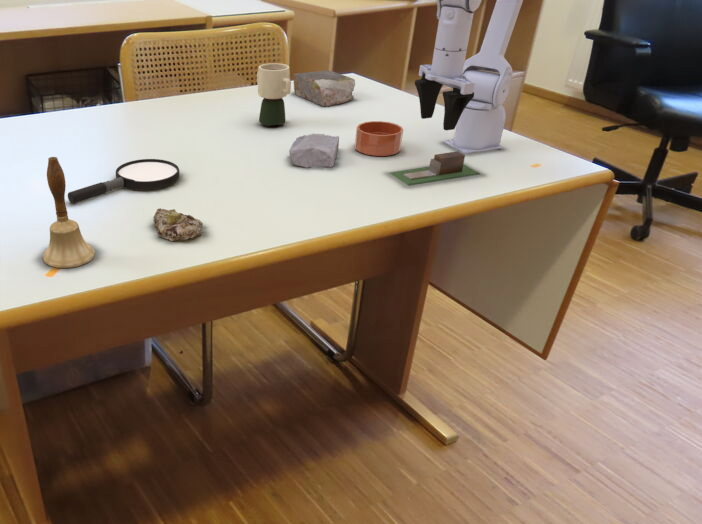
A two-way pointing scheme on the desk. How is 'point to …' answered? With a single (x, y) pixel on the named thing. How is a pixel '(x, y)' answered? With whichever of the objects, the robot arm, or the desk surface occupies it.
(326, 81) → the geological specimen
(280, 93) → the character mug
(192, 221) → the mineral rock
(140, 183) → the magnifying glass
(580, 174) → the desk surface
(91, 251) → the hand bell
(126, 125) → the desk surface
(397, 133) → the bowl
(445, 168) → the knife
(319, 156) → the stone block
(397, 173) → the green flat rectangular slab
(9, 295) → the desk surface
